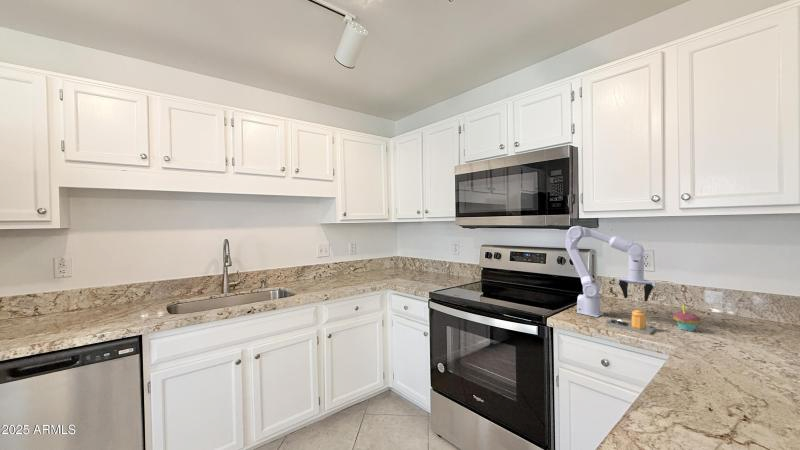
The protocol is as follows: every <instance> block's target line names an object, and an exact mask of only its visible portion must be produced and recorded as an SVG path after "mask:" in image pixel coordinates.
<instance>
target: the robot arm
mask: <svg viewBox="0 0 800 450" xmlns="http://www.w3.org/2000/svg"><path fill="white" fill-rule="evenodd" d="M565 234H566V235H565V236H566V237H565V240H564V241H565V243H564V248H565V249H566V251H567V253H568V255H569V258H570V260H571V261H572V263H573V266H574V268H575V270H576V273H577V274H578V276H579V278H580V282H581V285H582V292H583V294H581V293H580V294H578V296H577V301H576V314H580V315H585V316H590V317H595V318H599V317H600V316H602V315H604V312H601V295H600V294H599V292H600V290H601V286H600V284H599V282H598V281H596V280H595V279H594V277H593V276H592V274H591V273H590V271H589V269H588V266H587V265H586V262H585V260H584V258H583V256H582V254H581V252H580V250H579V248H578V244H579V242H580V240H581V239H582V238H593V239H596V240H598V241H601V242H605V243H607V244H608V245H609V247H610V248H613V249H615V250H617V251H620V252H623V253H628V261H627V266H628V267H627V277H624V276H623V277H621V276H618V277H616V282H617V283H618V285H619V287H620V289H621V291H622V293H623V298H624V299H628V287H629V284H636V285H642V286H643V289H644V292H643V293H644V298H643V300H644V302H649V301H648V300H649V296H650V293H652V292H651V291H652V290H653V289H654V287H656V286H657V281H655V280H649V279H645V275H644V273H645V272H644V271H645V269H644V268H645V264H644V263H645V260H644V253H645V248H644V246H643V245H642V244H640V243H639V242H635V241H634V240H628V239H626V238H624V237H623V236H622V235H619V236H618V235H614V236H609V235H608V234H605V233H602V232H600V231H597V230H595V229H592V228H590V227H589V228H588V227H584V226H580V225H576V226H575V225H574V226H573V225H572V226H571V227H569V229H568V230H567V231H566V233H565Z"/></svg>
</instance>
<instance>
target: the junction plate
mask: <svg viewBox="0 0 800 450" xmlns="http://www.w3.org/2000/svg"><path fill="white" fill-rule="evenodd" d="M605 326H609V327H614V328H618V329H623V330H626V331H631V332H636V333H640V334H645V335H652V334H653V333H655V331H656V330H657V327H656V326H653V325H648V324H646V328H637V327H634V326H632V321H628V320H622V319H619V318H614V317H612V318H611V319H609V320H607V321H605Z"/></svg>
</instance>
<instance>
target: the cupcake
mask: <svg viewBox="0 0 800 450" xmlns="http://www.w3.org/2000/svg"><path fill="white" fill-rule="evenodd" d="M672 316H673V320H674V321H676V324H677V326H678V329H679V328H680V330H681V329H683V330H682V331H685V330H688V331H687V332H694V331H695V329H696V328H697V326H698V325H699V324H701V318H700V317H699V316H697V314H693V313H692V312H686V306H685V303H684V302H682V311H679V312H676V313H675V314H673V315H672Z"/></svg>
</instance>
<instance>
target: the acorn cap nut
mask: <svg viewBox="0 0 800 450" xmlns="http://www.w3.org/2000/svg"><path fill="white" fill-rule="evenodd" d="M646 314H647V313H646V312H645V311H644V310H640V309H634V310H632V313H631V322H632V326H634V327H637V328H646V325H647V316H646Z"/></svg>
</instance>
